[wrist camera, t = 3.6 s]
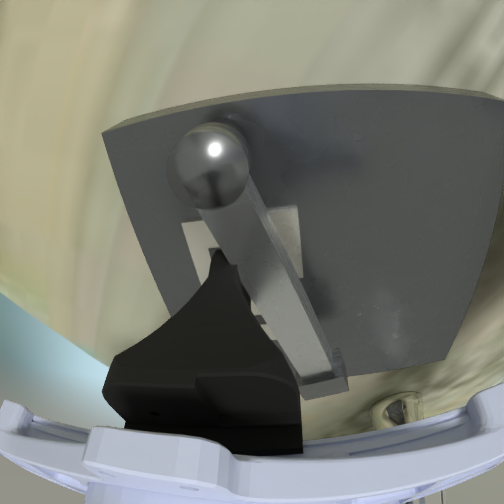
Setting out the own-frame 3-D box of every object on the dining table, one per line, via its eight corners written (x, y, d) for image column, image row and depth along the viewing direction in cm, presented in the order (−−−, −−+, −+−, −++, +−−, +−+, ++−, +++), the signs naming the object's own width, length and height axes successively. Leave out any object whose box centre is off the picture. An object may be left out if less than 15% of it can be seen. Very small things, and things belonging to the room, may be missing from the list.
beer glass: (385, 388, 26) (405, 535, 13) (437, 388, 26) (464, 515, 14) (353, 419, 30) (362, 542, 17) (403, 418, 30) (419, 529, 18)
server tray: (482, 92, 11) (534, 111, 7) (435, 334, 21) (451, 377, 17) (125, 119, 13) (80, 145, 10) (209, 357, 23) (201, 403, 20)
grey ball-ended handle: (166, 140, 10) (147, 158, 8) (232, 109, 9) (223, 120, 7) (303, 373, 17) (304, 400, 15) (345, 363, 16) (349, 390, 14)
